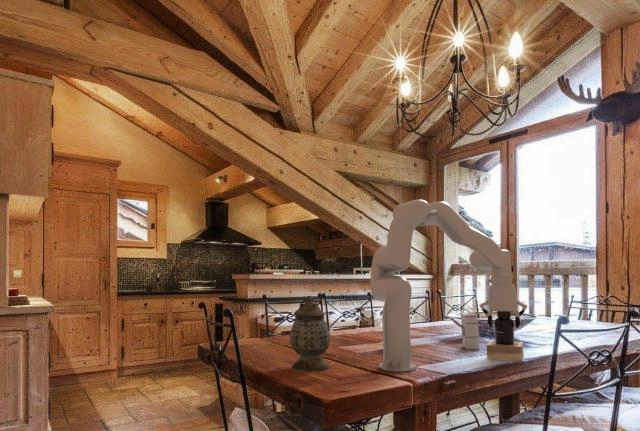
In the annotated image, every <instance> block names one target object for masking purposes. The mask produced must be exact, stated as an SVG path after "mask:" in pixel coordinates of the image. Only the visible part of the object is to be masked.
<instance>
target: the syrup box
mask: <svg viewBox="0 0 640 431" xmlns="http://www.w3.org/2000/svg"><path fill="white" fill-rule="evenodd" d="M478 320H479V319H478V314H477V313H474V312H462V313H461V312H460V321H461V339H462V340H461V342H462V348H464V349H465V350H480V333H479V322H478Z"/></svg>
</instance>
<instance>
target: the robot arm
mask: <svg viewBox="0 0 640 431" xmlns="http://www.w3.org/2000/svg"><path fill="white" fill-rule="evenodd" d="M435 225H436V226H437V227H438V228H439V229H440V230H441V231H442V232H443V233H444V234H445V236H447V237H448V238H449V239H450V240H451V241H452V242H453V243H455V244H457V245H460V246H463V247H466V248H469V249H472V250H474V251H472V252H471V253H470V255H469V258H468V259H469V263H470V265H471V266H472V267H473V268H476V269H478V270H489V269H490V278H487V281H486V282H487V283H491V284H490V285H489V287H488V300H486V301H484V302H483V303H480V304H479V307H480V309H481V311H482V313H484V314H485V315H486V316H487V325H489V328H492V327H493V325H494V324H493V315H492V314H493V313H494V312H496V313H497V312H510V313H513V314H514V315H515V318H514V319H515V321H514V322H515V328H516V329H519V326H521V316H522V315H523V314H525V311H526V310H527V308H528V305H527V304H525V303H523V302H521V301H519V300H518V298H517V291H516V287H515V285H514V284H513V274H512V272H513V271H512V256H511V252H510V250H508V249H502V248H501V247H500V246H499V245H498V244H497V242H496V241H494V239H492V238H491V237H489V236H488V235H486V234H484V233H483V232H481V231H479V230H477V229H476V228H474V227H472V226H470V225H469V224H468V222H466V221H465V219H463V218H462V216H460V214H459V213H458V212H457V211H456V210H455V209H454V208H453V207H452V205H450V204H449V203H448V202H446V201H444V200H443V201H442V200H441V201H440V200H438V201H435V202H430V203H429V202H428V201H426V200H424V199H413V200H409V201H406V202H402V203H399V204H397V205H396V206H395V207H394V208H393V211H392V220H391V223H390V225H389V227H388V233H387V241H386V245H384V246H380V247H379V248H378V249H377V250H376V251H375V253H374V254H373V257H372V262H371V270H370V285H369V286H370V287H369V289H370V293H371V295H372V297H373V298H374V299H375V300H376V301H379V302H384V304H383V307H382V312H381V322H382V323H381V324H382V353H383V358H382V359H383V362H380V363H378V368H379V369H380V370H381V371H386V372H396V373H397V372H398V373H400V372H401V373H402V372H405V373H406V372H411V371H414V370H416V369H417V365H416V364H415V363H413V362H412V343H411V341H412V340H411V318H410V316H411V310H410V309H411V302H412V301H411V300H412V291H413V290H412V286H411V283H410V282H409V281H408V279H407V278H405V277H404V276H401V275H396V274H395V272H396V273H397V272H404V271H406V270H407V269H408V268H409V266H410V264H411V251H412V240H413V234H414V231H415V230H416V228H417V227H425V226H426V227H428V226H435ZM487 305H488V310H487V309H486V308H485V306H487ZM518 306H519V307H521V310H520V311H518V310H517V309H518Z"/></svg>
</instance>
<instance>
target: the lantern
mask: <svg viewBox="0 0 640 431" xmlns="http://www.w3.org/2000/svg"><path fill="white" fill-rule="evenodd" d="M313 298H314V297H312V295H307V296H305V298H304V299H303V300H301V302H300V303H299V307H298V308H297V309H296V311H294V313H293V316H295V317H294V321H293V324H292V326H291V328H290V332H289V342H290V345H291V348H292V350H293V351H294V352H295V353H296V354H297V355H300V356H299V358H298V359H297V360H296V361H295V362H294V363H293V364H292V366H291V370H293V371H295V372H301V373H318V372H325V371H329V370H330V369H331V368H330V367H331V365H330V364H329V363H327V361H325V359H324V358H323V356H322V355H324V353H326V351H327V350H328V349H329V345H330V343H331V340H330V336H331V335H330V329H329V326H328V324H327V323H326V322H325V320H324V316H325V313H324V311H323V310H322V309H321V308H320V307H319V304H318V302H317V301H316V299H313Z"/></svg>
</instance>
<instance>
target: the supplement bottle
mask: <svg viewBox="0 0 640 431" xmlns="http://www.w3.org/2000/svg"><path fill="white" fill-rule="evenodd" d="M511 317H512V316H511V312H496V318H495V319H494V341H495V342H496V343H498V344H504V345H512V344H514V342H515V325H514V322H515V321H514V320H513V319H512V318H511Z"/></svg>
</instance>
